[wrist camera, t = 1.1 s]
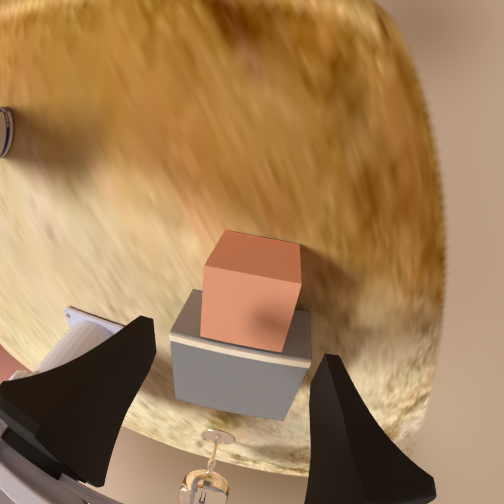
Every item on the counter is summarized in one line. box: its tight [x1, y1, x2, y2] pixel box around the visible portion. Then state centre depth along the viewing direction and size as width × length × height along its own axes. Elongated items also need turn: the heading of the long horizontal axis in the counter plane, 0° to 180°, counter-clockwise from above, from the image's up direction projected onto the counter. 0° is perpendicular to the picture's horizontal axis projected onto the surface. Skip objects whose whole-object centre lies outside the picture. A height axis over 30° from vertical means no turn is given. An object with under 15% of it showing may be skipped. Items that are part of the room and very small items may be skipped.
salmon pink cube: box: [200, 230, 302, 352], centre depth 18 cm, size 5×5×5 cm
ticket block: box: [169, 289, 312, 421], centre depth 21 cm, size 8×9×5 cm
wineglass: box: [179, 429, 234, 504], centre depth 26 cm, size 6×6×12 cm
